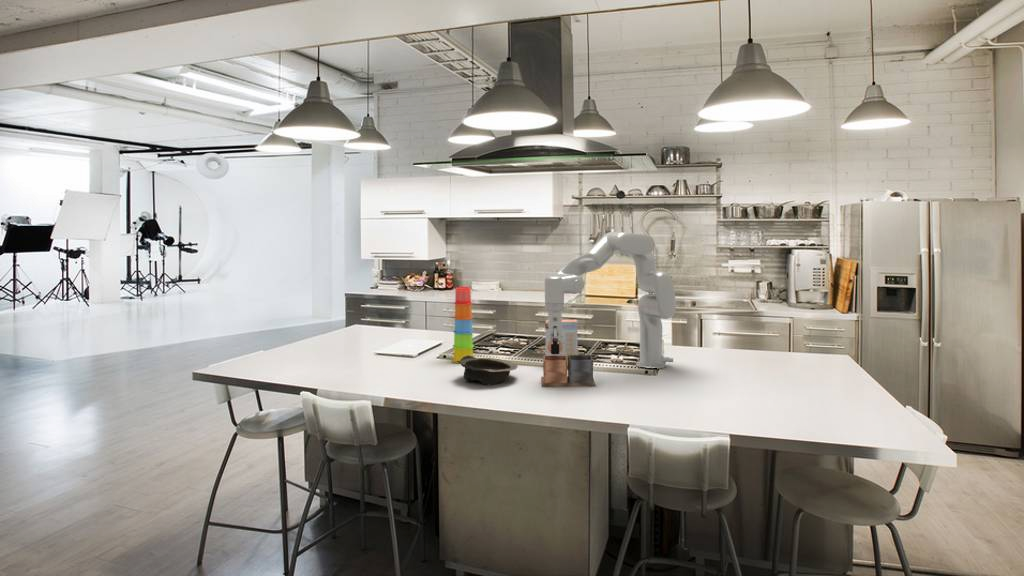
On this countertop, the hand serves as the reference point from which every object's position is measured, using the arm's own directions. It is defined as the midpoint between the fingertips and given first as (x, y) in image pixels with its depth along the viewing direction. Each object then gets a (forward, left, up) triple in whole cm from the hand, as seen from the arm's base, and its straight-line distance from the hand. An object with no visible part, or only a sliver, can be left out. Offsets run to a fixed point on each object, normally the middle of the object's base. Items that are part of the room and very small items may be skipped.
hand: (554, 351), depth 241 cm
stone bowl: (+27, -6, -13) cm, 31 cm away
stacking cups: (+41, -39, -13) cm, 58 cm away
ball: (0, 0, +2) cm, 2 cm away
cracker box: (-4, -26, -13) cm, 29 cm away
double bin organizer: (-5, 0, -13) cm, 14 cm away
